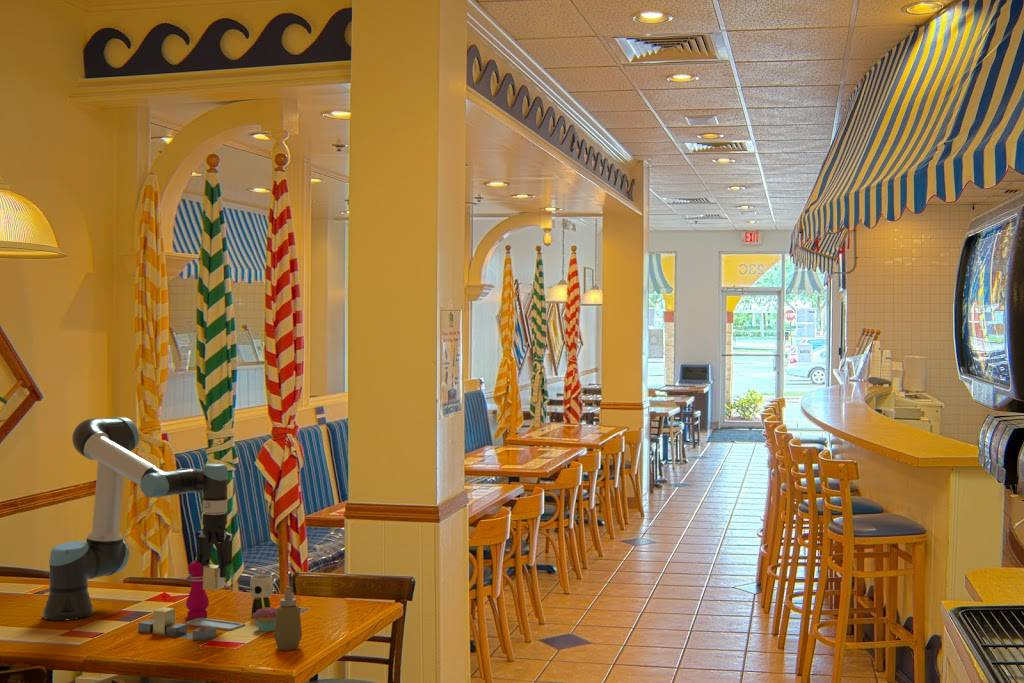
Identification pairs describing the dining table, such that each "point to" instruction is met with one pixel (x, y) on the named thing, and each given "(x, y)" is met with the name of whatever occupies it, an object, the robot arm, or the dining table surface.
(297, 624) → the squeeze bottle
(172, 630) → the gray notched bar
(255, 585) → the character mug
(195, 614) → the pepper mill
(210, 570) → the beige rectangular block
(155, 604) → the dining table surface
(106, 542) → the robot arm
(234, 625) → the tray
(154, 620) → the cream upright block
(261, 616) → the cupcake
